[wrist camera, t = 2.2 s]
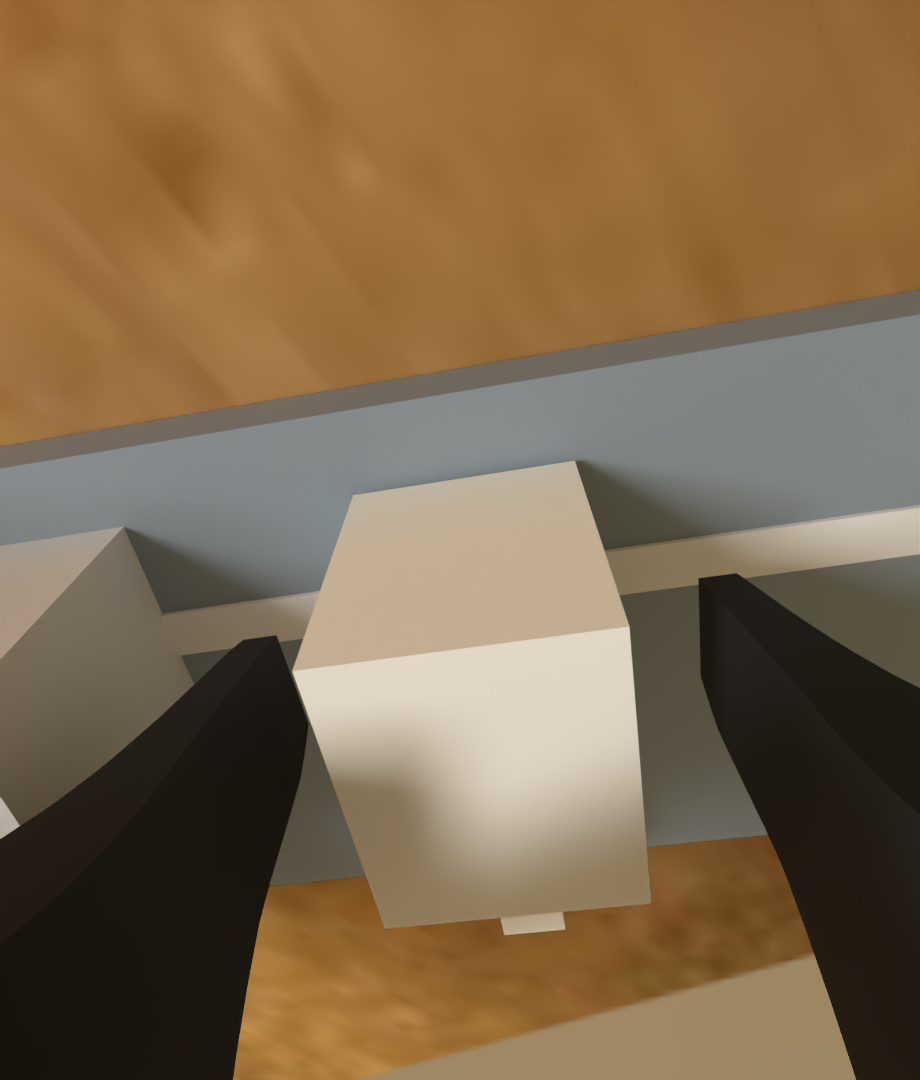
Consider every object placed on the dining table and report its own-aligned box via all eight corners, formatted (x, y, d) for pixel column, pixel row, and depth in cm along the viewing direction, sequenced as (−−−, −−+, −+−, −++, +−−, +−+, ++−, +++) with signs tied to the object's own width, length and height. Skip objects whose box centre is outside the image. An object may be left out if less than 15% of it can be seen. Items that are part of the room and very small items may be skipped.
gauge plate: (175, 849, 20) (52, 1137, 14) (-37, 453, 15) (-382, 658, 9) (923, 767, 18) (1138, 1061, 12) (1009, 274, 13) (1478, 383, 7)
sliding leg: (444, 830, 17) (434, 1064, 13) (353, 495, 13) (291, 671, 9) (612, 811, 17) (662, 1047, 12) (574, 460, 13) (629, 626, 8)
